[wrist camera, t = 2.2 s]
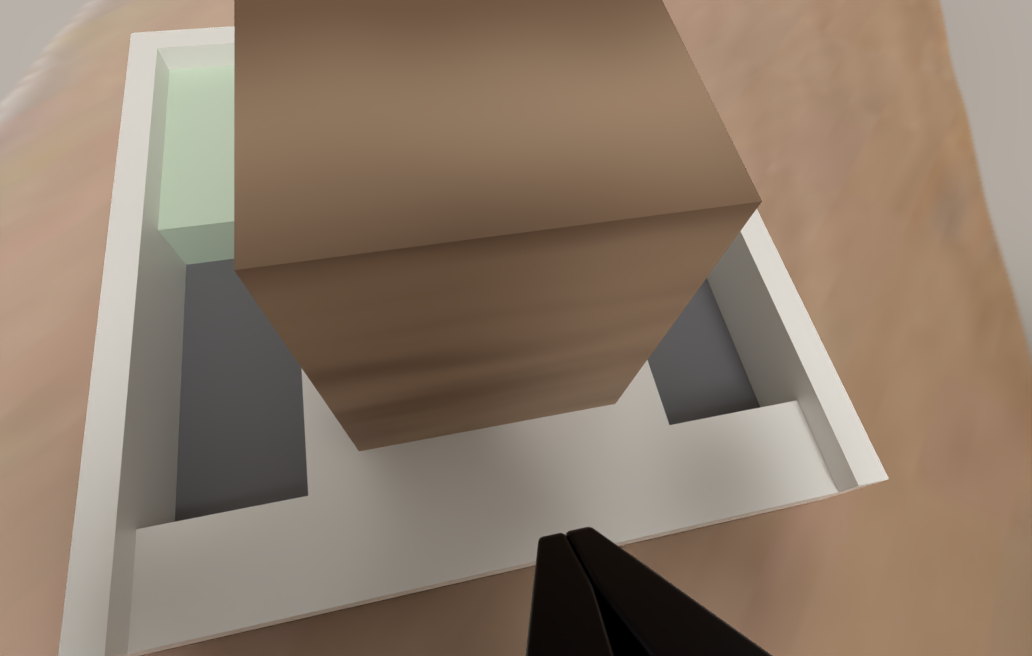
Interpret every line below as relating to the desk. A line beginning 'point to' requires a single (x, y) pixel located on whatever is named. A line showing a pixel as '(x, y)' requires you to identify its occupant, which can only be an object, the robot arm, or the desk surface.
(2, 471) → the desk surface
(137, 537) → the box
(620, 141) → the walnut block
